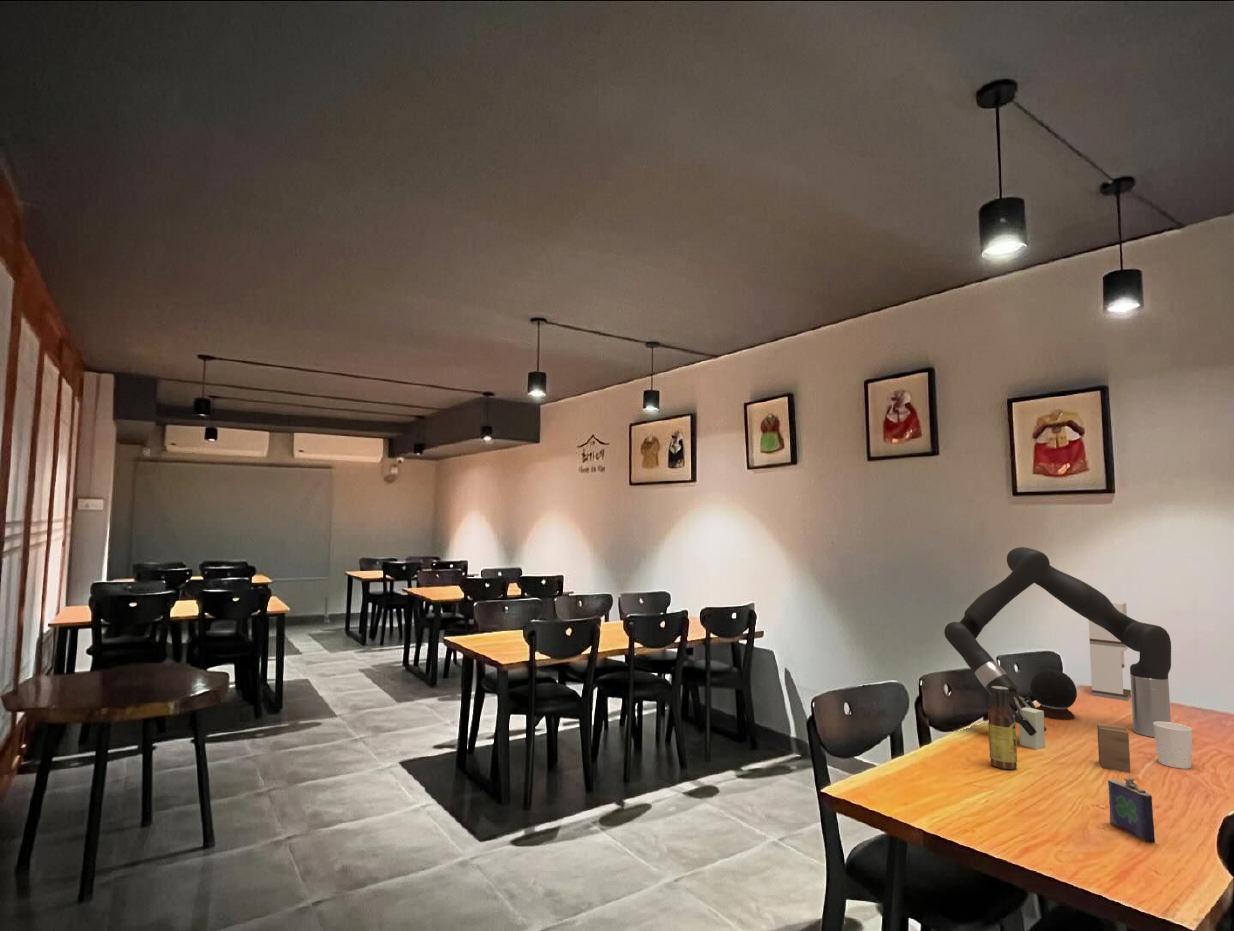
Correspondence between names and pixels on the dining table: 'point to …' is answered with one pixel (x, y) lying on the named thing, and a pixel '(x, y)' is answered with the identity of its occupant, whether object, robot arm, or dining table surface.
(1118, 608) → the mini white fridge
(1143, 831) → the flask
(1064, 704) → the black oval
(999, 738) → the sauce bottle
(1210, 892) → the dining table surface
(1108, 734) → the tower upper
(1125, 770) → the tower lower
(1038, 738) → the sage block
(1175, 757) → the white cup
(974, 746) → the dining table surface
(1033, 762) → the dining table surface
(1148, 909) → the dining table surface
